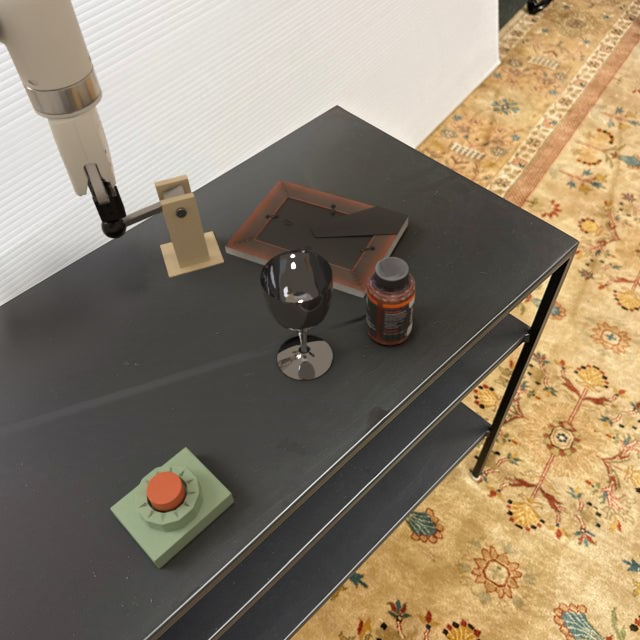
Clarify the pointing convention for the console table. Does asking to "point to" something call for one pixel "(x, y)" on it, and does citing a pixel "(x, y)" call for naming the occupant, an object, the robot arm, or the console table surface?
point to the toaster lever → (138, 215)
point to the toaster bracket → (185, 231)
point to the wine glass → (299, 309)
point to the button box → (180, 523)
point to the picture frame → (320, 232)
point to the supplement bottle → (390, 302)
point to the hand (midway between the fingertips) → (113, 216)
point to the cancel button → (165, 491)
